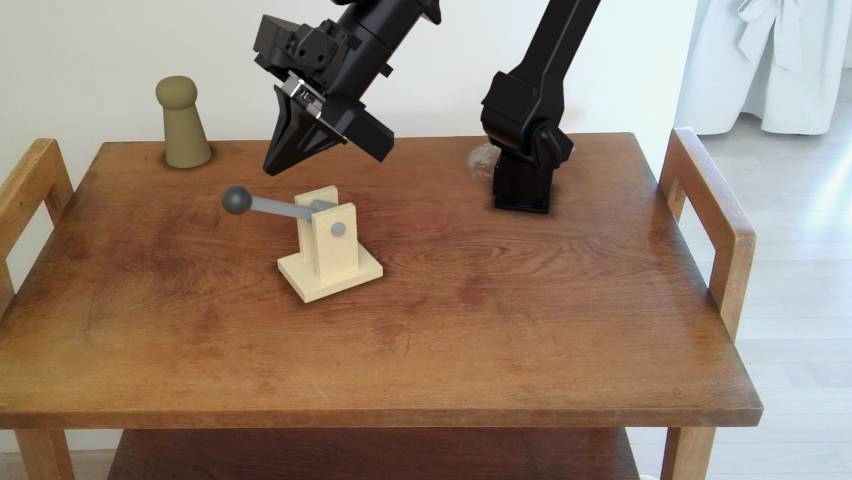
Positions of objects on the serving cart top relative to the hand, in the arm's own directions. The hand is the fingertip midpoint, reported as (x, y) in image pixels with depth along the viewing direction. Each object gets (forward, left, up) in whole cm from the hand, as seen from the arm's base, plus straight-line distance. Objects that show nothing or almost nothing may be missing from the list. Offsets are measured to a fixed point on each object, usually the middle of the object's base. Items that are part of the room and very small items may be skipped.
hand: (267, 173), depth 71 cm
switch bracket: (-4, -4, -14) cm, 15 cm away
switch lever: (0, 0, -5) cm, 6 cm away
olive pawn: (+23, -25, -14) cm, 36 cm away
